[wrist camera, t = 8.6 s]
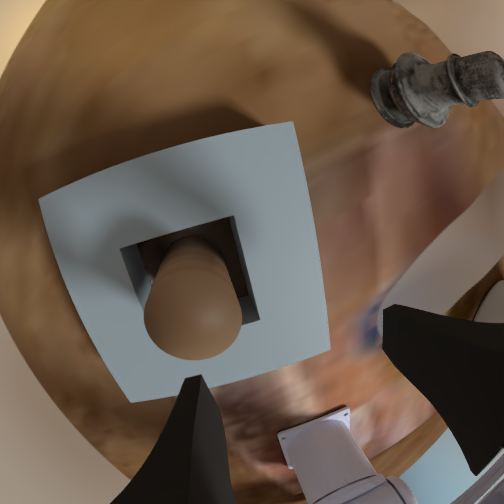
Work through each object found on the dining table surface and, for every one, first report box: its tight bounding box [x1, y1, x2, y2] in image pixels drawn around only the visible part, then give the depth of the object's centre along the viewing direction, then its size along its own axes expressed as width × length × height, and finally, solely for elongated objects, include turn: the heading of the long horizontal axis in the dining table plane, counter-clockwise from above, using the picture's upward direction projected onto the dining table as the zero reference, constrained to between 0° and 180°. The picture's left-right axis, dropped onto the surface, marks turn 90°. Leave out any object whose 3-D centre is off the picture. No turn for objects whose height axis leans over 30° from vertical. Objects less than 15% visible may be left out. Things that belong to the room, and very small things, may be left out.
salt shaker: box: [370, 51, 504, 128], centre depth 11 cm, size 6×6×12 cm
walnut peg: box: [144, 236, 242, 360], centre depth 14 cm, size 4×4×7 cm
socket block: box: [38, 122, 331, 403], centre depth 15 cm, size 14×14×4 cm
